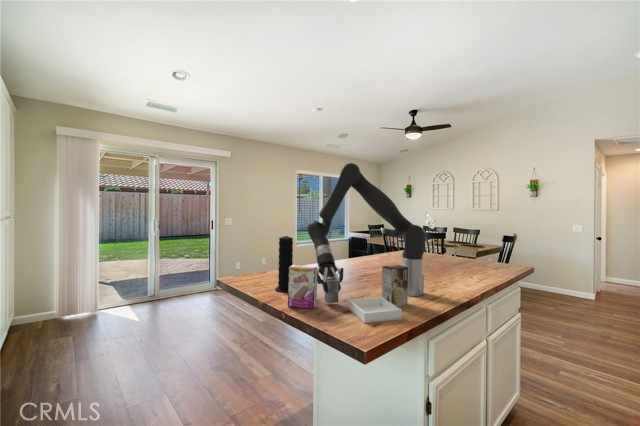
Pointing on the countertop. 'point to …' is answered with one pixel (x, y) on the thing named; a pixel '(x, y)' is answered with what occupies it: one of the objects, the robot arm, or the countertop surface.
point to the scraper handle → (332, 290)
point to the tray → (374, 310)
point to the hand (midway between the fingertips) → (333, 291)
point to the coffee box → (395, 284)
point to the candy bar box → (302, 287)
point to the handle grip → (284, 263)
